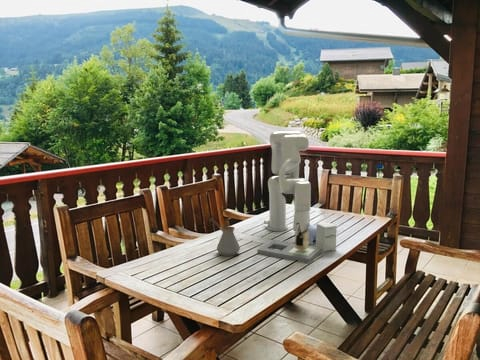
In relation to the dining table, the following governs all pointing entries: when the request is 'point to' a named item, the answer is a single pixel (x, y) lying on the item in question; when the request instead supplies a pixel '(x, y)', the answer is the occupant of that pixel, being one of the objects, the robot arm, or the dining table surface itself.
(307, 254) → the puzzle board
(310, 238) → the hippopotamus toy
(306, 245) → the maple block
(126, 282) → the dining table surface
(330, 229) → the supplement box
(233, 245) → the coffee pot
